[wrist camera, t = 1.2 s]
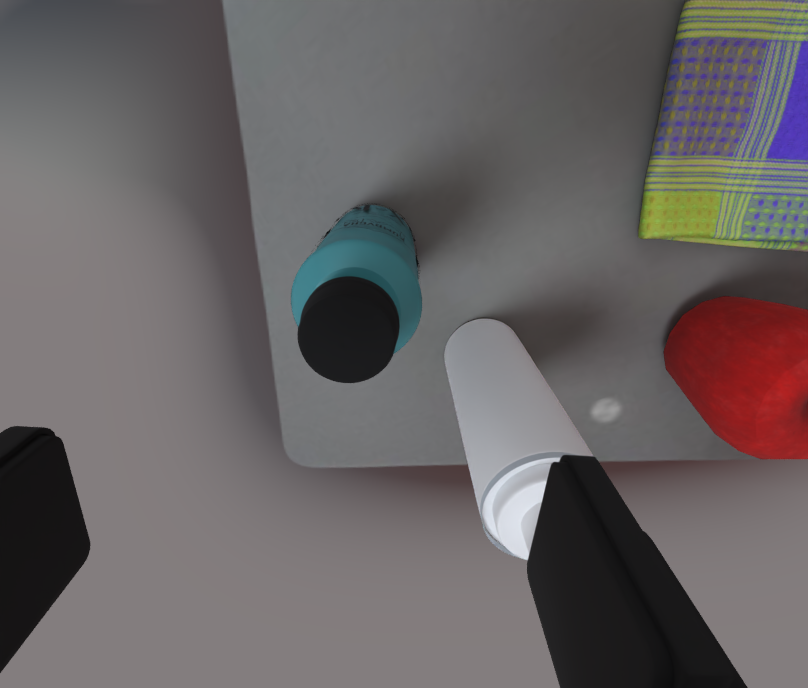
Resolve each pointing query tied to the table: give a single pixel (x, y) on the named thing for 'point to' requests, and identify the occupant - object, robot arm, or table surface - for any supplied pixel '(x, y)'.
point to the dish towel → (733, 129)
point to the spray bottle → (506, 429)
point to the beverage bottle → (358, 295)
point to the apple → (746, 373)
